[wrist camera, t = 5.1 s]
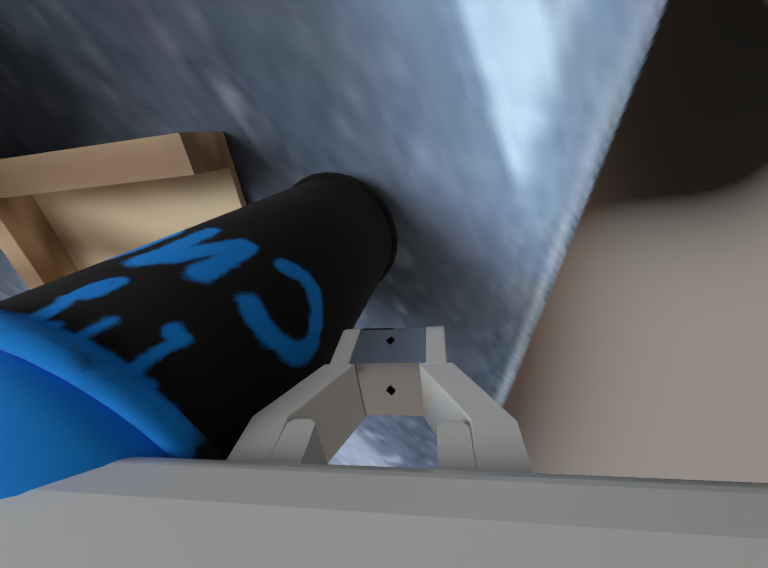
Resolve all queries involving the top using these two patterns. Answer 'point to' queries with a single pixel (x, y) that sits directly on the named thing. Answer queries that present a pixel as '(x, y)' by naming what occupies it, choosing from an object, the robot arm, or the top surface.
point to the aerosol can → (186, 333)
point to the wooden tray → (110, 199)
